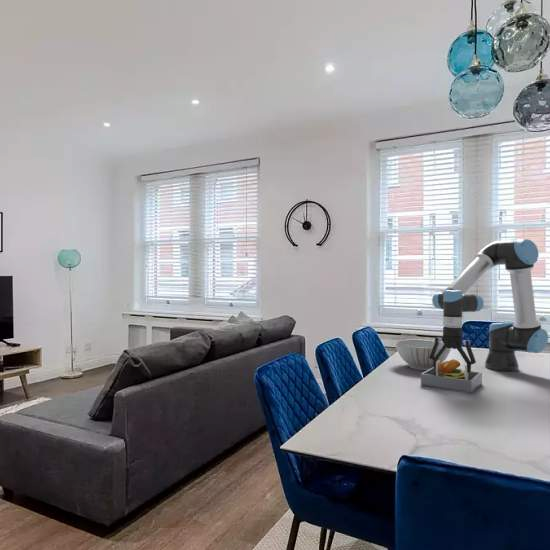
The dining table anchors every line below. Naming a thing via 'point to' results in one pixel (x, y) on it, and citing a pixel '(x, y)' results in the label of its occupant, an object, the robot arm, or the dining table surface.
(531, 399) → the dining table surface
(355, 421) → the dining table surface
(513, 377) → the dining table surface
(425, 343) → the decorative bowl
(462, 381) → the bin
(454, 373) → the cheeseburger
